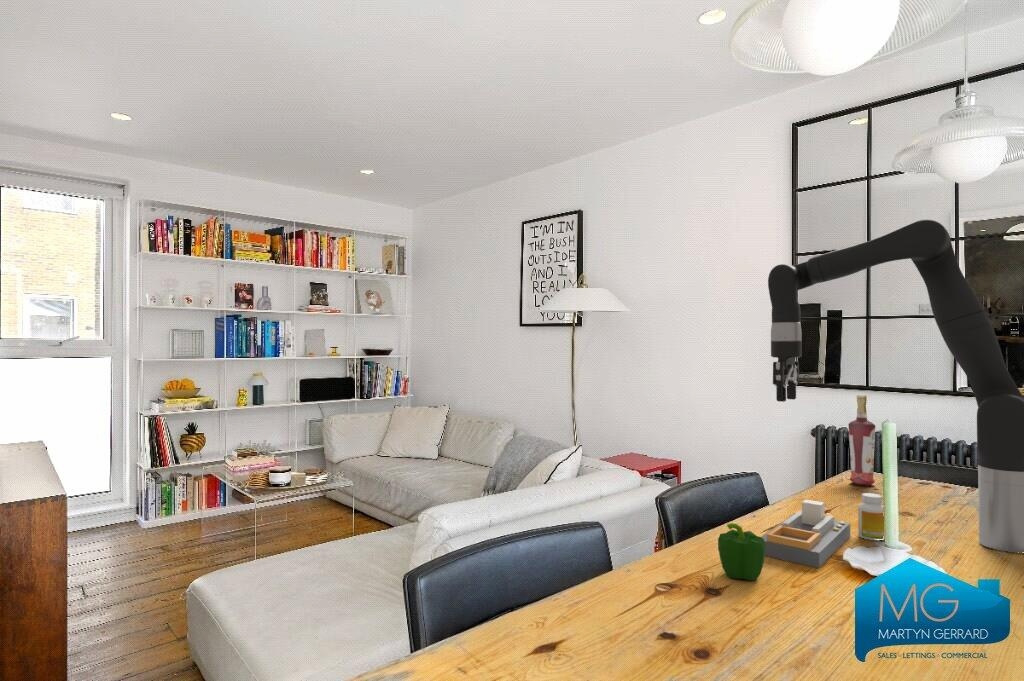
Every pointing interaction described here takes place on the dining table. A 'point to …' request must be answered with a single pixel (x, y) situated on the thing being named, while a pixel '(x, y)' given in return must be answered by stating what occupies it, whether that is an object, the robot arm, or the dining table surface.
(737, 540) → the bell pepper
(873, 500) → the supplement bottle
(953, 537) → the dining table surface
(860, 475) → the liquor
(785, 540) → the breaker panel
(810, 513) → the handle
